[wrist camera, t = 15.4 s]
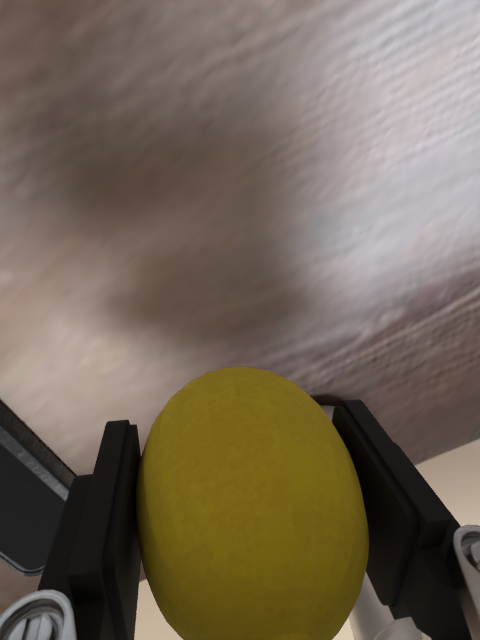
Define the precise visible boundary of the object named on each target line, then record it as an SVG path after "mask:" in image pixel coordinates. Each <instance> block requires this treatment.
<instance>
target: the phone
mask: <svg viewBox="0 0 480 640" xmlns="http://www.w3.org/2000/svg"><path fill="white" fill-rule="evenodd" d="M74 478H75V476H74V475H73V474H72V473H71V472H70V471H69V470H68V469H67V468H66V467H65V466H64V465H63V464H62V463H61V462H60V461H59V460H58V459H57V458H56V457H55V456H54V455H53V454H52V453H51V452H50V451H49V450H48V449H47V448H46V447H45V446H44V445H43V444H42V443H41V442H40V441H39V440H38V439H37V438H36V437H35V436H34V435H33V434H32V433H31V432H30V431H29V430H28V429H27V428H26V427H25V426H24V425H23V424H22V423H21V422H20V421H19V420H18V419H17V418H16V417H15V416H14V415H13V414H12V413H11V412H10V411H9V410H8V409H7V408H6V407H5V406H4V405H3V404H2V403H1V402H0V560H1V561H2V562H4V563H5V564H6V565H8V566H9V567H10V568H12V569H13V570H14V571H16V572H17V573H19V574H21V575H24V576H37V575H40V574H43V571H44V568H45V565H46V561H47V558H48V555H49V552H50V549H51V546H52V543H53V540H54V537H55V533H56V530H57V527H58V524H59V521H60V518H61V515H62V512H63V509H64V505H65V502H66V499H67V496H68V493H69V490H70V487H71V484H72V481H73V479H74Z"/></svg>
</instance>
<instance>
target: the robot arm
mask: <svg viewBox="0 0 480 640" xmlns="http://www.w3.org/2000/svg"><path fill="white" fill-rule="evenodd" d="M332 423H333V425H334V427H335V428H336V430H337V432H338V433H339V435H340V437H341V438H342V440H343V442H344V444H345V446H346V448H347V450H348V452H349V454H350V457H351V459H352V461H353V464H354V467H355V470H356V473H357V476H358V479H359V483H360V487H361V491H362V496H363V501H364V506H365V512H366V517H367V523H368V533H369V552H368V562H367V566H366V573H367V575H368V577H369V580H370V582H371V584H372V586H373V588H374V591H375V593H376V595H377V597H378V599H379V601H380V602H381V604H382V605H384V606H386V605H388V607H389V610H390V612H391V614H392V616H393V618H394V620H396V619H402V618H407V617H411V618H412V620H413V622H414V624H415V626H416V628H417V629H418V630H420V631H421V633H422V638H423V640H480V526H478V525H465V526H462V527H461V526H460V525H459V523H458V522H457V521H456V520H455V518H454V517H453V516H452V514H451V513H450V512H449V510H448V509H447V508H446V507H445V505H444V504H443V503H442V501H441V500H440V499H439V497H438V496H437V495H436V494H435V492H434V491H433V490H432V488H431V487H430V486H429V485H428V483H427V482H426V481H425V480H424V478H423V477H422V475H421V474H420V473H419V472H418V470H417V469H416V468H415V466H414V465H413V464H412V462H411V461H410V460H409V459H408V457H407V456H406V455H405V453H404V452H403V451H402V449H401V448H400V447H399V446H398V445H397V444H396V443H394V442H393V441H392V440H391V439H390V437H389V436H388V435H387V433H386V432H385V431H384V429H383V428H382V427H381V425H380V424H379V423H378V422H377V420H376V419H375V418H374V416H373V415H372V414H371V412H370V411H369V410H368V408H367V407H366V406H365V404H364V403H363V402H362V401H361V400H359V399H358V400H347V401H341V402H340V403H339V406H336V407H334V410H333V416H332ZM140 460H141V454H140V446H139V438H138V430H137V425H130V423H129V420H120V421H109V422H107V423H106V426H105V430H104V434H103V438H102V442H101V445H100V449H99V453H98V457H97V461H96V464H95V468H94V472H93V474H89V475H80V476H76V477H75V478H74V479H73V481H72V484H71V487H70V490H69V493H68V496H67V499H66V502H65V505H64V509H63V512H62V515H61V518H60V521H59V524H58V527H57V530H56V533H55V537H54V540H53V543H52V546H51V549H50V552H49V555H48V558H47V561H46V565H45V568H44V571H43V574H42V577H41V580H40V583H39V586H38V590H37V591H36V592H33V593H30V594H28V595H26V596H24V597H23V598H21V599H19V600H17V601H16V602H14V603H13V604H12V605H11V606H10V607H9V608H8V609H7V610H5V611H4V612H3V613H2V614H1V616H0V640H134V633H135V621H136V610H137V599H138V587H139V576H140V564H141V554H140V549H139V543H138V534H137V519H136V487H137V475H138V469H139V464H140Z"/></svg>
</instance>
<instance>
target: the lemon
mask: <svg viewBox="0 0 480 640" xmlns="http://www.w3.org/2000/svg"><path fill="white" fill-rule="evenodd" d="M136 519H137V534H138V543H139V549H140V554H141V559H142V563H143V567H144V572H145V575H146V578H147V580H148V583H149V586H150V588H151V591H152V593H153V596H154V598H155V600H156V603H157V605H158V607H159V609H160V611H161V612H162V614H163V616H164V618H165V619H166V621H167V622H168V623H169V625H170V626H171V627H172V628H173V629H174V630H175V631H176V632H177V634H178V635H179V636H180V637H181V638H182V639H184V640H332V639H333V638H334V637H335V636H336V635H337V633H338V632H339V631H340V629H341V628H342V626H343V625H344V623H345V621H346V620H347V618H348V616H349V615H350V613H351V611H352V609H353V608H354V605H355V603H356V601H357V598H358V596H359V594H360V591H361V587H362V583H363V580H364V576H365V571H366V566H367V562H368V552H369V533H368V523H367V517H366V512H365V506H364V501H363V496H362V491H361V487H360V483H359V479H358V476H357V473H356V470H355V467H354V464H353V461H352V459H351V457H350V454H349V452H348V450H347V448H346V446H345V444H344V442H343V440H342V438H341V437H340V435H339V433H338V432H337V430H336V428H335V427H334V425H333V423H332V422H331V420H330V419H329V417H328V416H327V414H326V413H325V412H324V410H323V409H322V408H321V407H320V405H319V404H318V403H317V402H316V401H315V400H314V399H312V398H311V397H310V396H309V395H308V394H307V393H306V392H304V391H303V390H302V389H301V388H300V387H299V386H297V385H296V384H295V383H293V382H292V381H290V380H288V379H286V378H284V377H282V376H279V375H277V374H275V373H273V372H271V371H267V370H262V369H256V368H251V367H227V368H223V369H220V370H216V371H212V372H208V373H206V374H204V375H203V376H201V377H199V378H197V379H195V380H193V381H191V382H190V383H188V384H187V385H186V386H185V387H183V388H182V389H181V390H180V391H179V392H177V393H176V394H175V395H174V396H173V397H172V398H171V399H170V400H169V401H168V403H167V404H166V406H165V407H164V408H163V410H162V411H161V413H160V414H159V415H158V417H157V418H156V420H155V422H154V424H153V425H152V427H151V430H150V433H149V436H148V439H147V442H146V444H145V447H144V450H143V453H142V456H141V460H140V464H139V469H138V475H137V487H136Z"/></svg>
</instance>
